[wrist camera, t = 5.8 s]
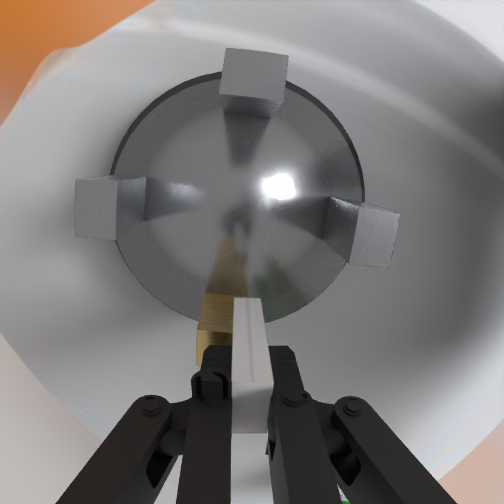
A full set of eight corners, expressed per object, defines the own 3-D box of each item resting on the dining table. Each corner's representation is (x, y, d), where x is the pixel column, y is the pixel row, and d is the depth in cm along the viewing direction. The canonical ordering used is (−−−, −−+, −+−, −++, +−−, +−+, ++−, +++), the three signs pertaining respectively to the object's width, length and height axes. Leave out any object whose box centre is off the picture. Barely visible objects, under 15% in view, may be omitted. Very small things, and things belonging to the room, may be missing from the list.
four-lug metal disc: (361, 109, 16) (413, 90, 10) (326, 317, 19) (357, 371, 14) (136, 83, 15) (94, 51, 9) (123, 298, 18) (86, 346, 13)
